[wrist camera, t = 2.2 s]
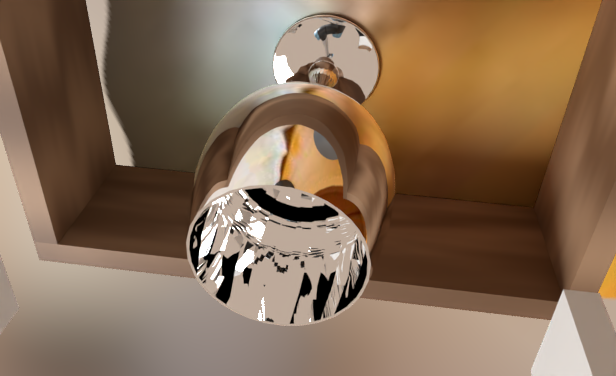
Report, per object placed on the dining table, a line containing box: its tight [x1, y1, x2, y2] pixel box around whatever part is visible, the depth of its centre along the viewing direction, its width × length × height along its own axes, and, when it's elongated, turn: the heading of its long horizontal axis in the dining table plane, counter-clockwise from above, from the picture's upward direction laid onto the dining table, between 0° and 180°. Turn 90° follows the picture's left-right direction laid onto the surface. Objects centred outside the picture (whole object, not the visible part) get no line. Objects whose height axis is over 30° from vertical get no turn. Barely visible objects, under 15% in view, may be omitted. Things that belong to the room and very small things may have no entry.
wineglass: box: [186, 15, 395, 326], centre depth 19 cm, size 6×6×12 cm
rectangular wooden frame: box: [0, 0, 616, 320], centre depth 22 cm, size 14×22×6 cm, turn 88°
